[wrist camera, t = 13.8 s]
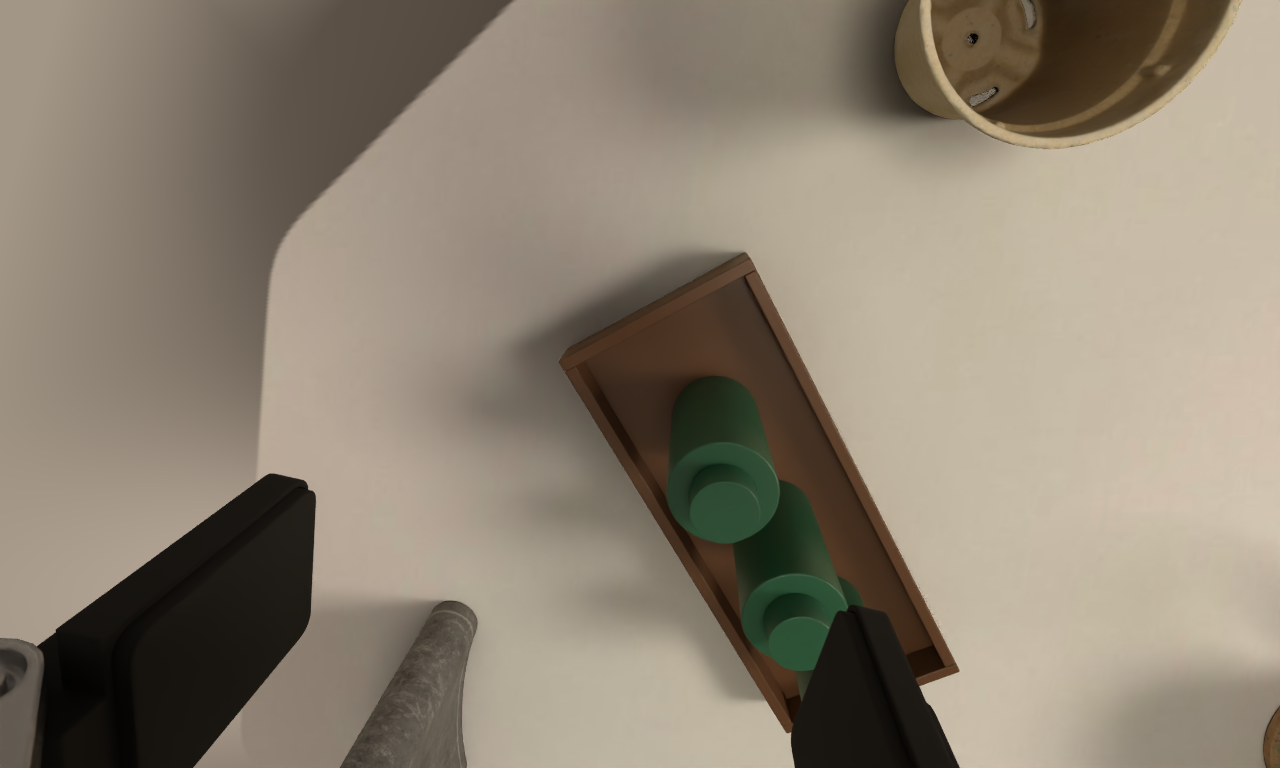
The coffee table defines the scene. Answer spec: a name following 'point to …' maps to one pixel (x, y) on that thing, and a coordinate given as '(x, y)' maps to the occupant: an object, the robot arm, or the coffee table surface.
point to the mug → (1273, 743)
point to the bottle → (720, 462)
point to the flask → (422, 700)
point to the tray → (797, 438)
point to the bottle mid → (788, 584)
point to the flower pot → (1055, 62)
